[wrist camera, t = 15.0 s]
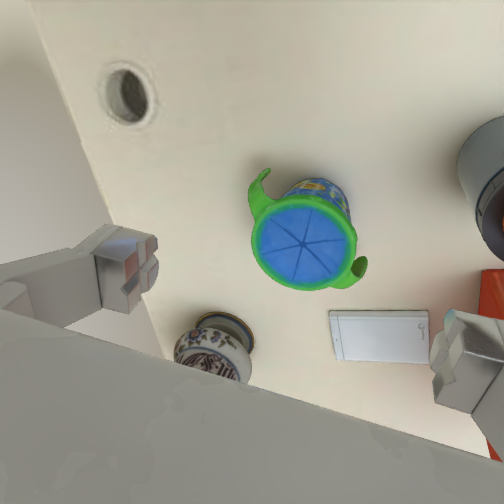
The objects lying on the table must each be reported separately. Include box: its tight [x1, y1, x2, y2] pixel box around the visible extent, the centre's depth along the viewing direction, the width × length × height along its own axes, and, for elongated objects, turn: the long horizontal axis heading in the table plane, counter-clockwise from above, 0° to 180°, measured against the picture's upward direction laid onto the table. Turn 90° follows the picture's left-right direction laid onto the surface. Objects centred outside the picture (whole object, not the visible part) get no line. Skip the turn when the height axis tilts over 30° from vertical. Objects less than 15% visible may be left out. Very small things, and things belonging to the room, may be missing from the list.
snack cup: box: [248, 168, 368, 291], centre depth 44 cm, size 16×10×10 cm
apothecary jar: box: [174, 312, 254, 384], centre depth 56 cm, size 12×12×18 cm
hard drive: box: [329, 311, 430, 364], centre depth 54 cm, size 2×8×12 cm
